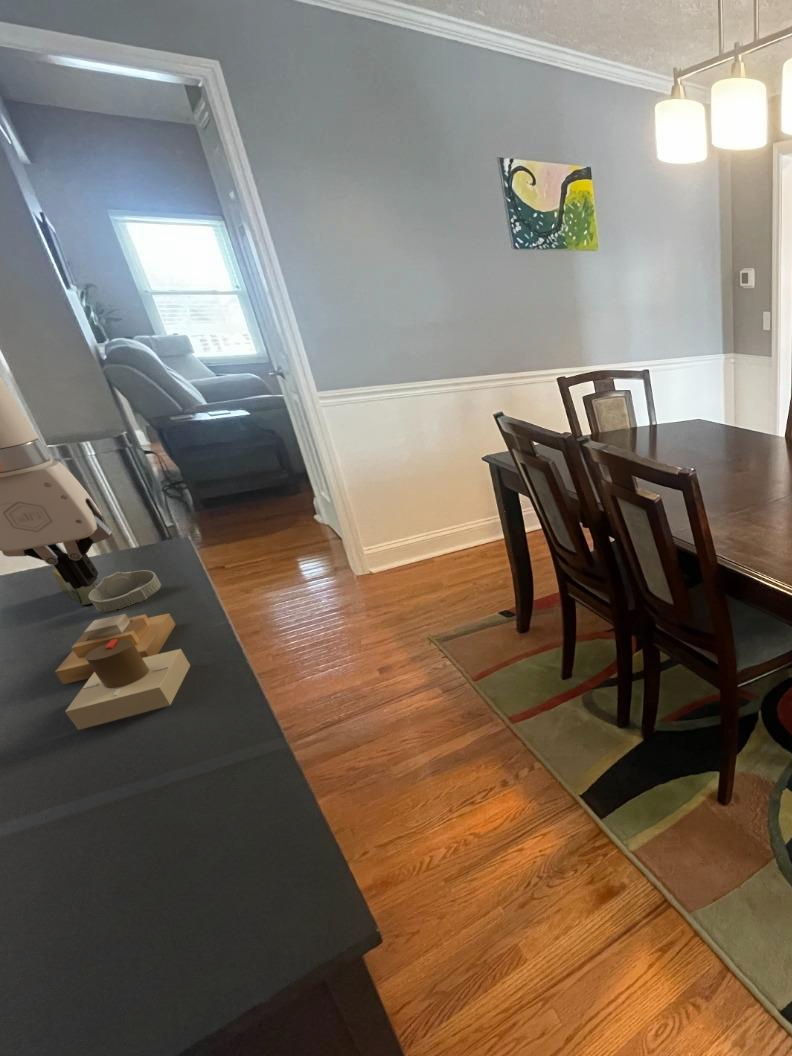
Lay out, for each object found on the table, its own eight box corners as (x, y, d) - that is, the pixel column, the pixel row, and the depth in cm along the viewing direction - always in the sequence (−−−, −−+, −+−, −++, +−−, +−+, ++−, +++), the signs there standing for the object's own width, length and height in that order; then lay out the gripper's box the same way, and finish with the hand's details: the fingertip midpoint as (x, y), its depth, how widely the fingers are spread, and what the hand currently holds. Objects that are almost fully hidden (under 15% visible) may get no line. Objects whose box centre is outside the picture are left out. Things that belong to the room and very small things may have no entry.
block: (63, 684, 83) (47, 661, 81) (96, 642, 92) (82, 620, 90) (152, 662, 87) (138, 640, 85) (175, 624, 96) (163, 603, 94)
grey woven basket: (153, 585, 109) (139, 561, 107) (173, 590, 107) (159, 566, 104) (88, 610, 101) (72, 584, 99) (108, 616, 99) (92, 590, 97)
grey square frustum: (90, 642, 86) (83, 631, 85) (99, 630, 88) (93, 620, 88) (123, 634, 87) (116, 624, 86) (131, 623, 90) (125, 613, 89)
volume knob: (143, 680, 78) (124, 650, 75) (98, 692, 76) (77, 661, 74) (153, 663, 81) (135, 634, 79) (110, 674, 79) (91, 644, 77)
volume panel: (78, 730, 74) (63, 710, 73) (107, 686, 82) (95, 667, 80) (170, 705, 78) (158, 686, 76) (190, 665, 86) (180, 647, 84)
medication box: (104, 601, 104) (95, 580, 103) (82, 606, 102) (73, 585, 101) (80, 584, 110) (71, 564, 108) (59, 589, 108) (49, 569, 106)
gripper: (-100, 479, 70) (-1, 611, 78) (71, 455, 76) (145, 580, 85) (-62, 463, 76) (26, 587, 84) (93, 442, 82) (161, 559, 90)
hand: (86, 583), depth 84 cm, fingers closed
